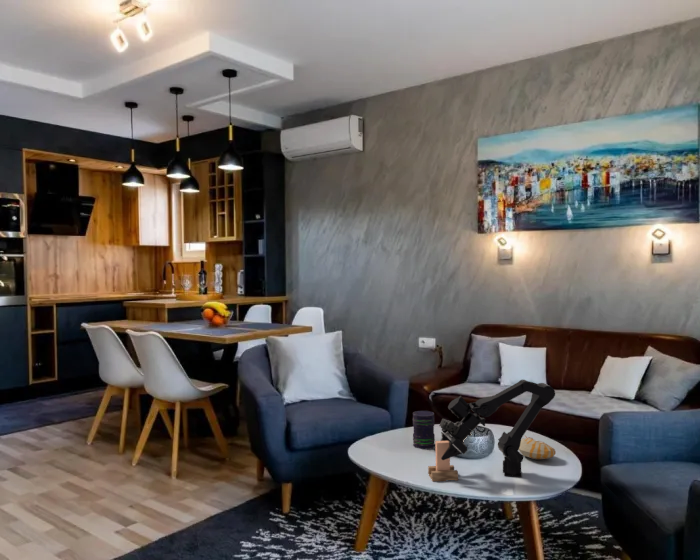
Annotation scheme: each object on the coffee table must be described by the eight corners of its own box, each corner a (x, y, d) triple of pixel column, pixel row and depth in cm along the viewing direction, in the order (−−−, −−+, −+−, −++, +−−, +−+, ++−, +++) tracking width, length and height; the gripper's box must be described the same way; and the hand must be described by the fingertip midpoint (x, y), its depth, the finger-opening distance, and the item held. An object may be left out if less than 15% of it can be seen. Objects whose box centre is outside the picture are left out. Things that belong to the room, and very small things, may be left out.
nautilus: (512, 449, 256) (546, 451, 254) (520, 462, 234) (558, 465, 232) (513, 431, 256) (547, 433, 254) (521, 442, 235) (558, 445, 233)
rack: (452, 472, 226) (452, 464, 226) (458, 480, 218) (458, 472, 218) (428, 473, 225) (428, 465, 225) (432, 481, 217) (432, 473, 217)
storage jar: (432, 442, 266) (431, 410, 265) (437, 448, 256) (436, 415, 256) (411, 442, 265) (410, 411, 265) (415, 449, 255) (414, 416, 255)
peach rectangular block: (448, 473, 223) (448, 440, 223) (450, 475, 220) (449, 442, 220) (435, 474, 222) (435, 441, 222) (437, 476, 220) (436, 443, 220)
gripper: (446, 406, 230) (419, 434, 230) (458, 418, 212) (429, 449, 211) (465, 424, 231) (439, 452, 231) (479, 438, 213) (450, 469, 212)
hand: (439, 455), depth 221 cm, fingers open, 9 cm apart
